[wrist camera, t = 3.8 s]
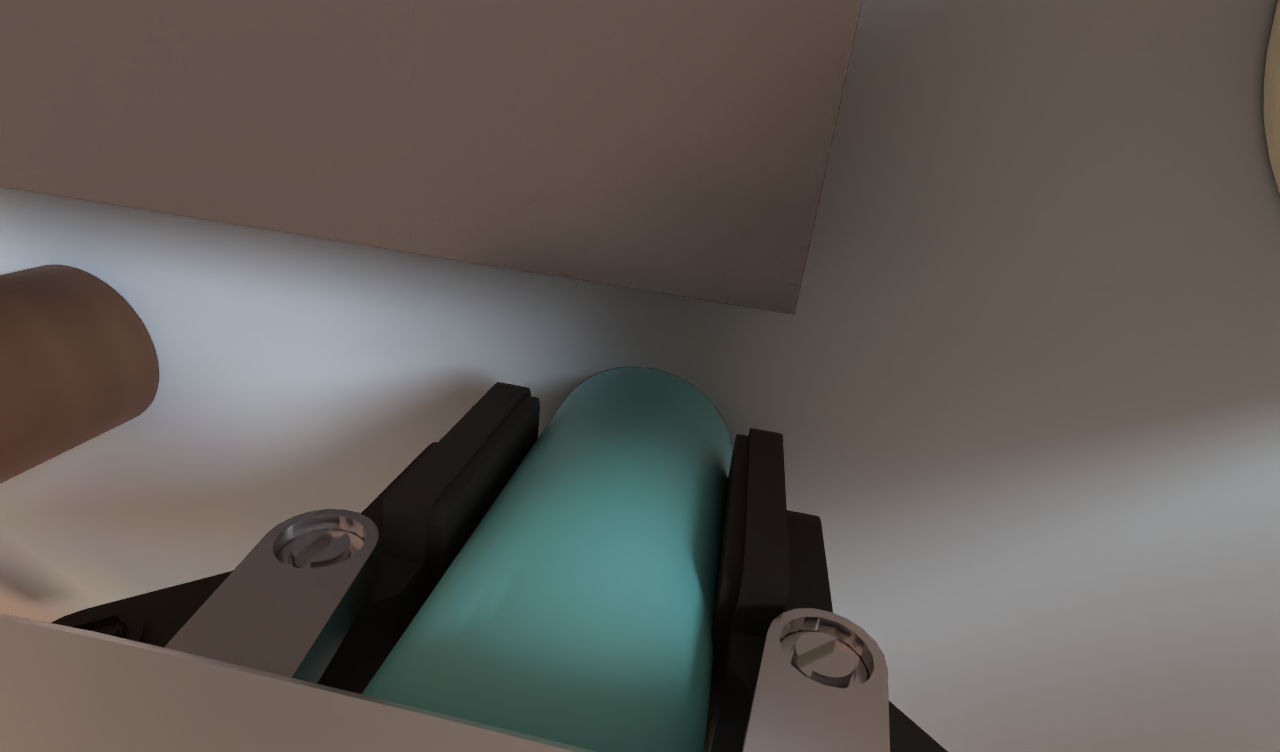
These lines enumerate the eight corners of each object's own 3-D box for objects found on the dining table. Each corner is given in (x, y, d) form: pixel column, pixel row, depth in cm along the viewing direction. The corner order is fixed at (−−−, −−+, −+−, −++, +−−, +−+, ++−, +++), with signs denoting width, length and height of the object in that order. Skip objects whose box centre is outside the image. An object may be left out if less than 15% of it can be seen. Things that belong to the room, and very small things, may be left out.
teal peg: (747, 385, 12) (718, 819, 5) (716, 546, 13) (655, 1079, 6) (557, 352, 12) (258, 704, 5) (545, 511, 14) (294, 971, 6)
